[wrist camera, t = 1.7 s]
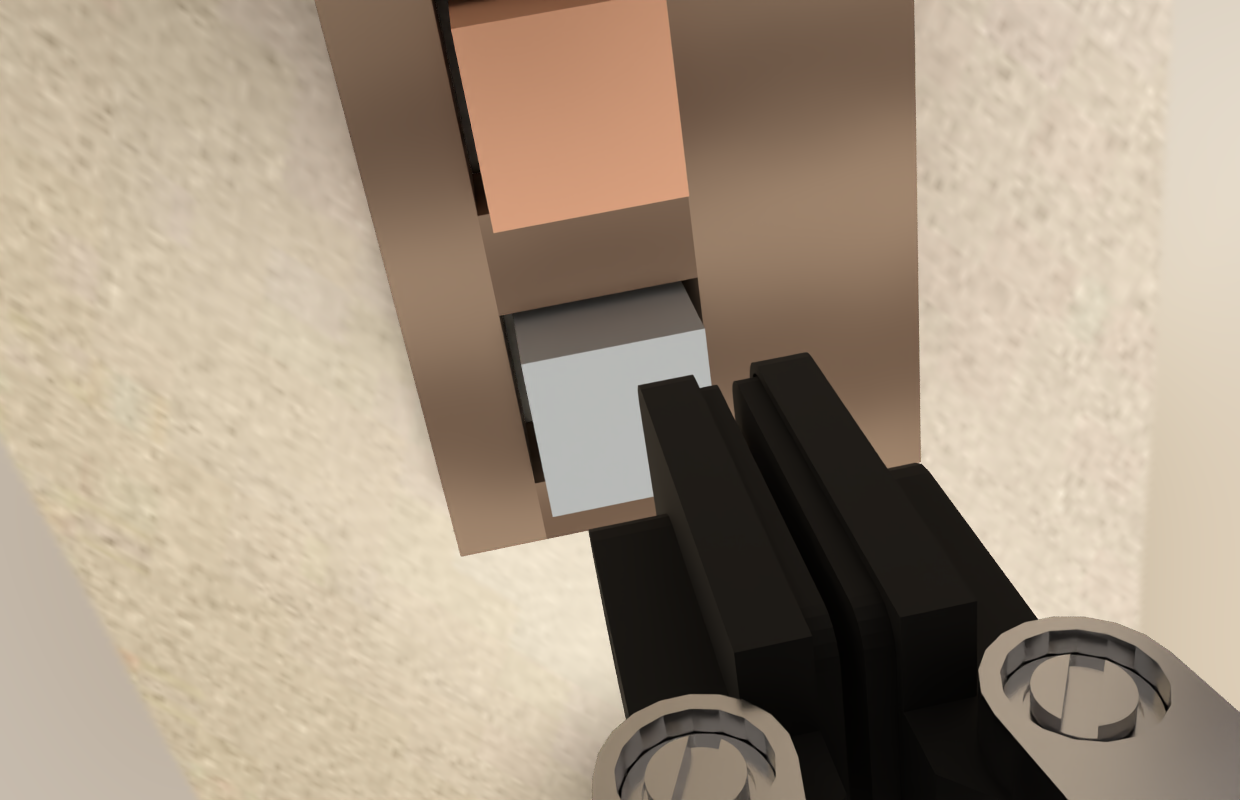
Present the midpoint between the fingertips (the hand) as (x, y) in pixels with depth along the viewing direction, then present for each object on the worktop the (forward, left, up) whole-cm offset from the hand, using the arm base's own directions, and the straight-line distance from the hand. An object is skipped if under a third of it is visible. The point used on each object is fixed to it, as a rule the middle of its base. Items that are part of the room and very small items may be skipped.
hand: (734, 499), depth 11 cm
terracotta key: (0, 0, -16) cm, 16 cm away
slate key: (+7, 0, -16) cm, 17 cm away
